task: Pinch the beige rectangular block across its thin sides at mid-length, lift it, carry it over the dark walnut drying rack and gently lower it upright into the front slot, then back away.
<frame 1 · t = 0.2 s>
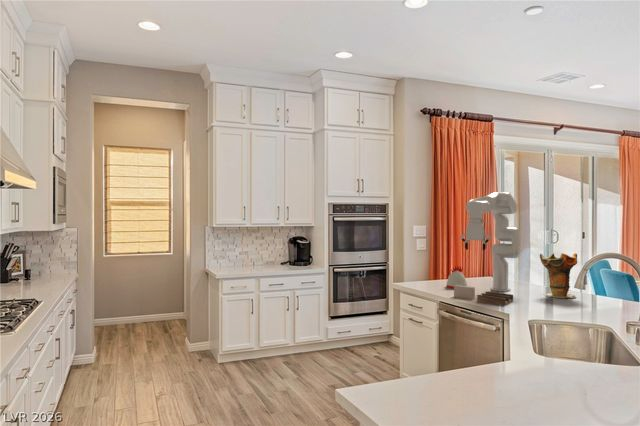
hand: (475, 250, 271), 30 cm above the countertop, fingers open, 9 cm apart
walnut rack: (495, 301, 267), on the countertop
beige rectangular block: (464, 297, 280), on the countertop
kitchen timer: (456, 287, 316), on the countertop
decorative vase: (558, 296, 285), on the countertop
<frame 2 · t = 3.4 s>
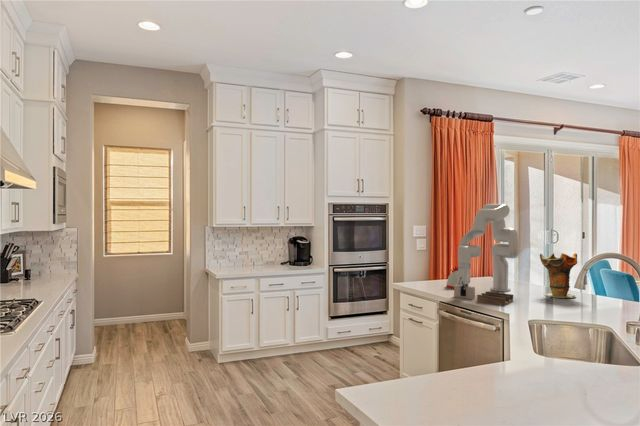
hand: (464, 295, 280), 1 cm above the countertop, fingers closed on beige rectangular block, 2 cm apart
beige rectangular block: (464, 297, 280), on the countertop, touching gripper
everything else where it was.
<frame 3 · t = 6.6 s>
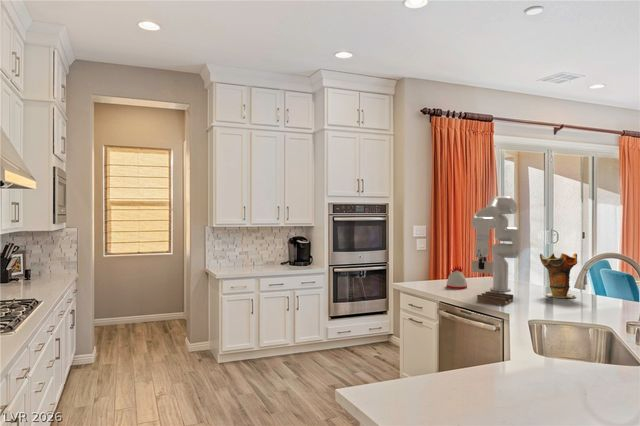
hand: (482, 268, 270), 19 cm above the countertop, fingers closed on beige rectangular block, 2 cm apart
beige rectangular block: (482, 272, 270), point 17 cm above the countertop, touching gripper
everything else where it was.
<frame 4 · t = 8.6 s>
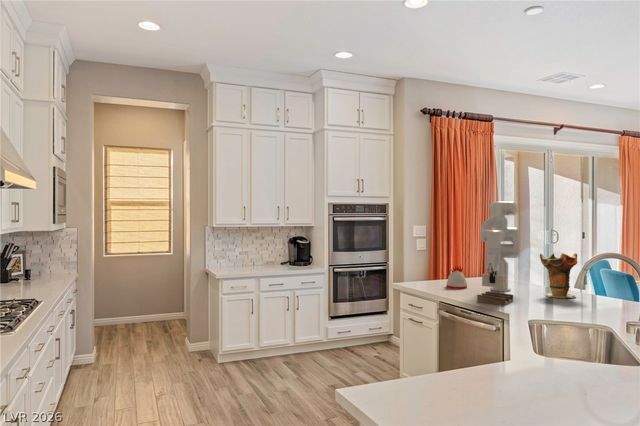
hand: (493, 282, 264), 12 cm above the countertop, fingers closed on beige rectangular block, 2 cm apart
beige rectangular block: (493, 286, 264), point 9 cm above the countertop, touching gripper
everything else where it was.
when the fingers open (4 cm above the countertop, at t = 10.2 s): beige rectangular block stays where it is, resting on walnut rack.
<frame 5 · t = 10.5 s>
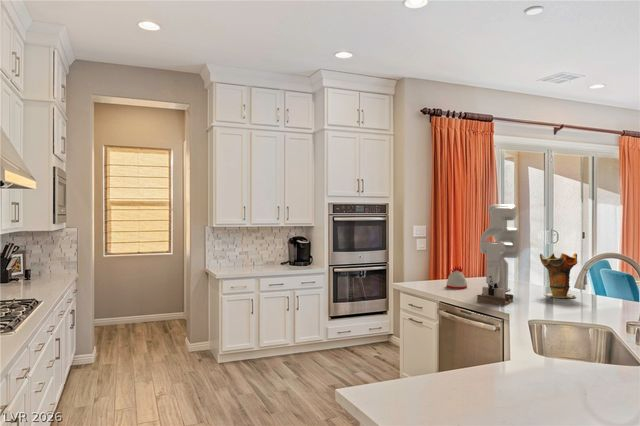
hand: (493, 294, 264), 5 cm above the countertop, fingers open, 6 cm apart
beige rectangular block: (493, 300, 264), point 1 cm above the countertop, touching walnut rack
everything else where it was.
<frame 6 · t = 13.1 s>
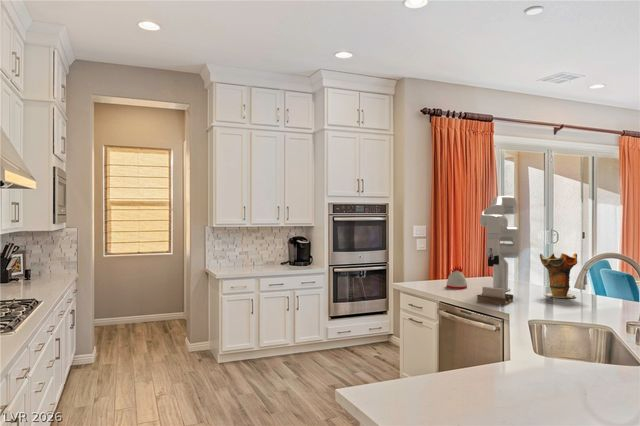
hand: (493, 265, 264), 22 cm above the countertop, fingers open, 9 cm apart
nothing on the countertop moved.
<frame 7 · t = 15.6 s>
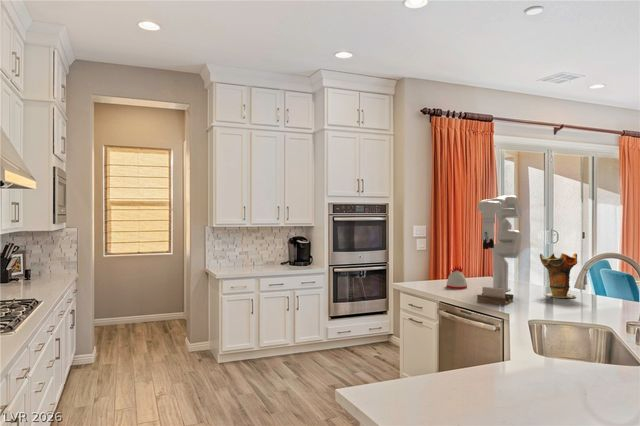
hand: (488, 248, 281), 30 cm above the countertop, fingers open, 9 cm apart
nothing on the countertop moved.
at the end: beige rectangular block inside the target area on the walnut rack (0.1 cm from its centre), point 1.5 cm above the walnut rack's base; beige rectangular block tilted 0°; the gripper is holding nothing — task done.
